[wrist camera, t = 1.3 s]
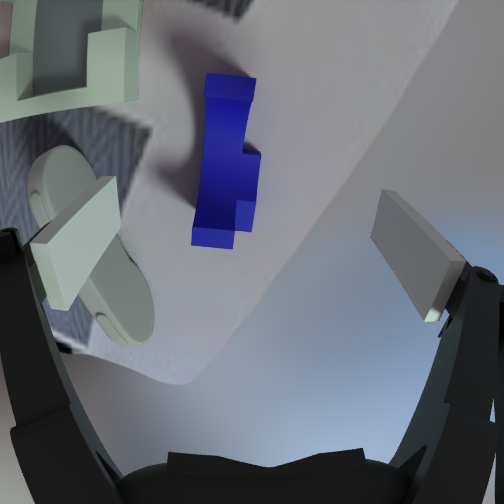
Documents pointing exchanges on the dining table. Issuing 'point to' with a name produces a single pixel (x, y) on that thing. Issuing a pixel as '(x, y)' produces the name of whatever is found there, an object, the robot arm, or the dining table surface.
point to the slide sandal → (112, 260)
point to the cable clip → (226, 164)
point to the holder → (70, 55)
